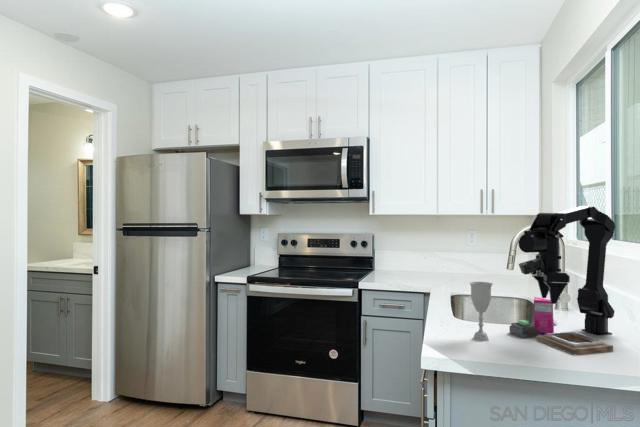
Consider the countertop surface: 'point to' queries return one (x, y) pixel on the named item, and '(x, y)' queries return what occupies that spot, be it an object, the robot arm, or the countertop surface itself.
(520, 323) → the button
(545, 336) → the wooden picture frame
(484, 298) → the chalice
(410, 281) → the countertop surface
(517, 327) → the control block
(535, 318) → the supplement box
